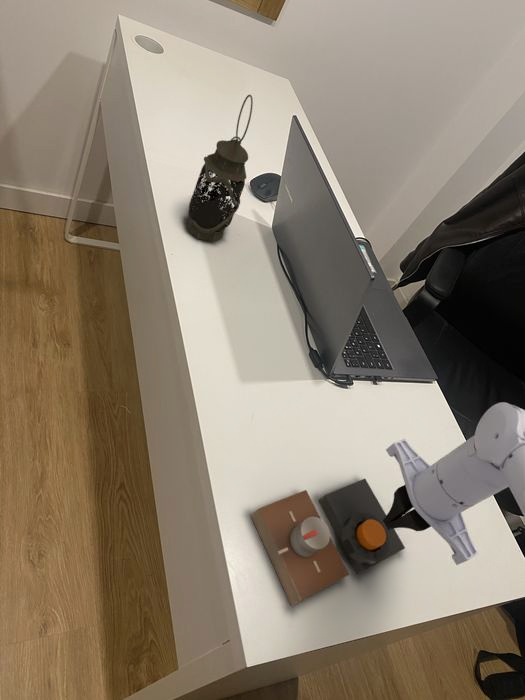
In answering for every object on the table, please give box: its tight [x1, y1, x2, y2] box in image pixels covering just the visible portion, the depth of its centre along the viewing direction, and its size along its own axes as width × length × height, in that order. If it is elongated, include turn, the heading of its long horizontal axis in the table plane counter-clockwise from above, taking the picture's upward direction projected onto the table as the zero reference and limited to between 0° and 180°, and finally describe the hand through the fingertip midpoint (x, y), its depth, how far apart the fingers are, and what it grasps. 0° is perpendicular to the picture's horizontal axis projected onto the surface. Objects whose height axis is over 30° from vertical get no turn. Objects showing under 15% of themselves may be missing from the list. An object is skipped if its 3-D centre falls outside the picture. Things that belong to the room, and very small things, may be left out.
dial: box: [290, 517, 331, 557], centre depth 63 cm, size 4×4×4 cm
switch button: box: [356, 519, 386, 550], centre depth 67 cm, size 4×4×2 cm
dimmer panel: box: [251, 489, 350, 607], centre depth 65 cm, size 12×8×3 cm
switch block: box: [318, 478, 406, 575], centre depth 70 cm, size 11×9×4 cm
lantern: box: [187, 94, 254, 243], centre depth 90 cm, size 10×9×28 cm
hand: (390, 522), depth 63 cm, fingers closed
